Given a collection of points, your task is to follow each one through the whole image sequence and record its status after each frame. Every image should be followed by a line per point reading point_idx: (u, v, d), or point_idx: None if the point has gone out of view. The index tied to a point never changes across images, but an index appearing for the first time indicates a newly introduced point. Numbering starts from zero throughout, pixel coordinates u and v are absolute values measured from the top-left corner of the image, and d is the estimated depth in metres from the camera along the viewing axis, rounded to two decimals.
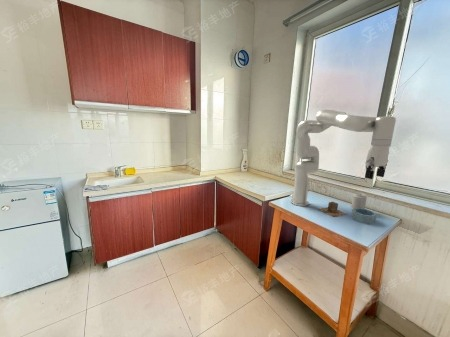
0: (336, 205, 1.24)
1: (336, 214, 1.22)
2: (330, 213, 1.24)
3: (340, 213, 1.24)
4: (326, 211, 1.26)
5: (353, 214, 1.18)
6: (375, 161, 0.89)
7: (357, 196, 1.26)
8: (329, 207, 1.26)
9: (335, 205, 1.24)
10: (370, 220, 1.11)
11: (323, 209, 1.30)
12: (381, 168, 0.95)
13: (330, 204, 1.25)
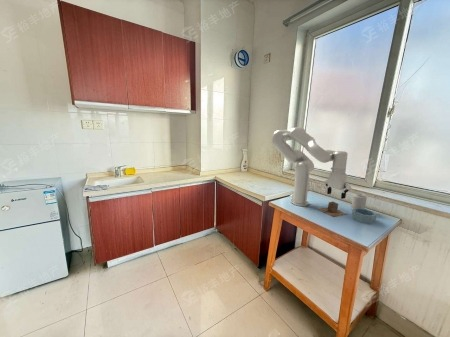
0: (336, 205, 1.24)
1: (336, 214, 1.22)
2: (330, 213, 1.24)
3: (340, 213, 1.24)
4: (326, 211, 1.27)
5: (353, 214, 1.18)
6: None
7: (357, 196, 1.26)
8: (329, 207, 1.26)
9: (335, 205, 1.24)
10: (370, 220, 1.11)
11: (323, 209, 1.30)
12: (330, 188, 1.27)
13: (330, 204, 1.25)
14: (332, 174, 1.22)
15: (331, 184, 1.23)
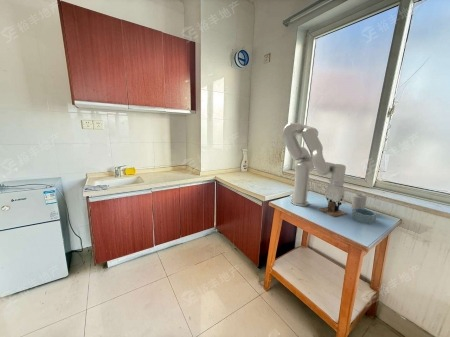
0: None
1: (337, 213, 1.22)
2: (331, 212, 1.23)
3: (341, 212, 1.24)
4: (327, 210, 1.26)
5: (353, 214, 1.18)
6: None
7: (357, 196, 1.26)
8: (330, 206, 1.26)
9: None
10: (370, 220, 1.11)
11: (324, 209, 1.29)
12: None
13: (331, 203, 1.25)
14: (330, 186, 1.24)
15: (329, 196, 1.25)
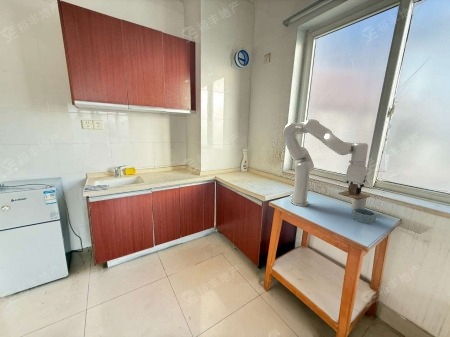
0: None
1: (359, 196, 1.13)
2: (352, 195, 1.14)
3: (363, 195, 1.15)
4: (347, 194, 1.17)
5: (353, 214, 1.18)
6: None
7: None
8: (350, 189, 1.17)
9: None
10: (370, 220, 1.11)
11: (344, 192, 1.20)
12: None
13: (352, 186, 1.16)
14: (351, 167, 1.15)
15: (350, 178, 1.16)
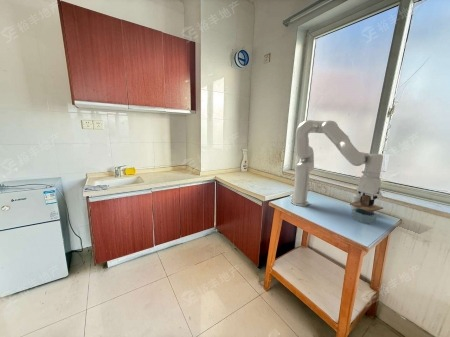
0: None
1: (372, 208, 1.10)
2: (365, 207, 1.11)
3: (376, 207, 1.12)
4: (360, 205, 1.14)
5: (353, 214, 1.18)
6: None
7: (357, 196, 1.26)
8: (363, 201, 1.14)
9: None
10: (370, 220, 1.11)
11: (355, 203, 1.17)
12: None
13: (364, 197, 1.13)
14: (364, 178, 1.12)
15: (362, 189, 1.13)
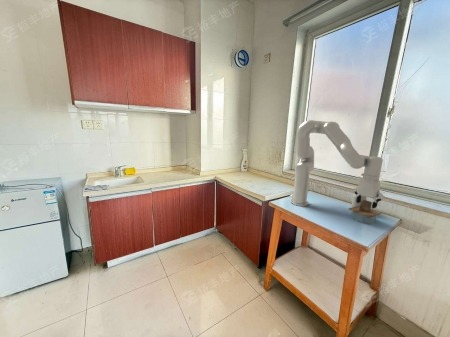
0: (369, 204, 1.13)
1: (370, 214, 1.11)
2: (363, 213, 1.12)
3: (374, 212, 1.13)
4: (358, 210, 1.15)
5: (353, 214, 1.18)
6: None
7: None
8: (361, 206, 1.15)
9: (369, 204, 1.13)
10: (370, 220, 1.11)
11: (354, 208, 1.18)
12: (359, 196, 1.18)
13: (363, 203, 1.14)
14: (363, 181, 1.12)
15: (361, 192, 1.14)
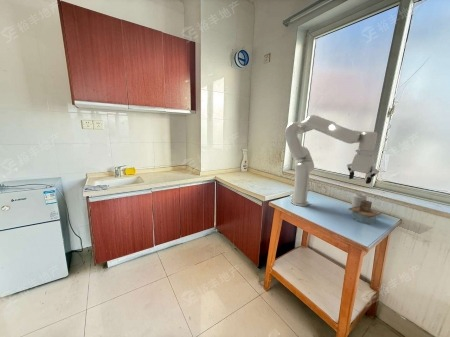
0: (369, 204, 1.13)
1: (370, 214, 1.11)
2: (363, 213, 1.12)
3: (374, 212, 1.13)
4: (358, 210, 1.15)
5: (353, 214, 1.18)
6: None
7: (357, 196, 1.26)
8: (361, 206, 1.15)
9: (369, 204, 1.13)
10: (370, 220, 1.11)
11: (354, 208, 1.18)
12: (352, 172, 1.17)
13: (363, 203, 1.14)
14: (357, 157, 1.11)
15: (355, 168, 1.13)
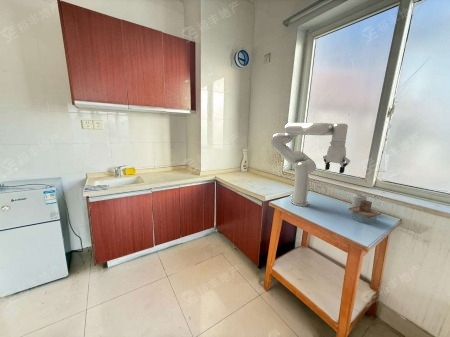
0: (369, 204, 1.13)
1: (370, 214, 1.11)
2: (363, 213, 1.12)
3: (374, 212, 1.13)
4: (358, 210, 1.15)
5: (353, 214, 1.18)
6: None
7: (357, 196, 1.26)
8: (361, 206, 1.15)
9: (369, 204, 1.13)
10: (370, 220, 1.11)
11: (354, 208, 1.18)
12: (328, 163, 1.22)
13: (363, 203, 1.14)
14: (331, 148, 1.17)
15: (329, 159, 1.18)
